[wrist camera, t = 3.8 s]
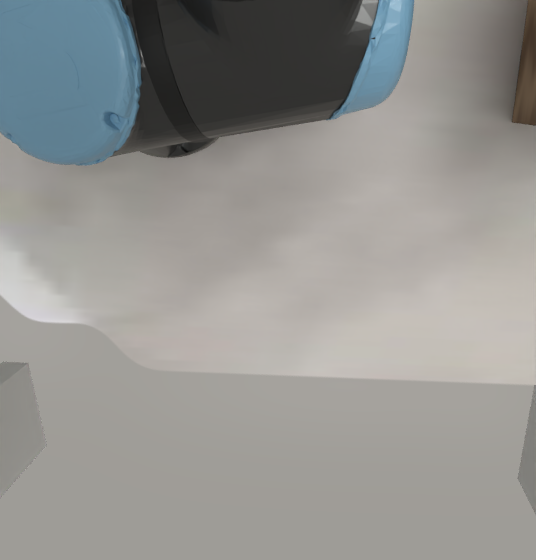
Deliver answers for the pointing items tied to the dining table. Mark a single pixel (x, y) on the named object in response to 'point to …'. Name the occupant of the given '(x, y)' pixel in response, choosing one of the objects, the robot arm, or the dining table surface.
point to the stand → (527, 72)
